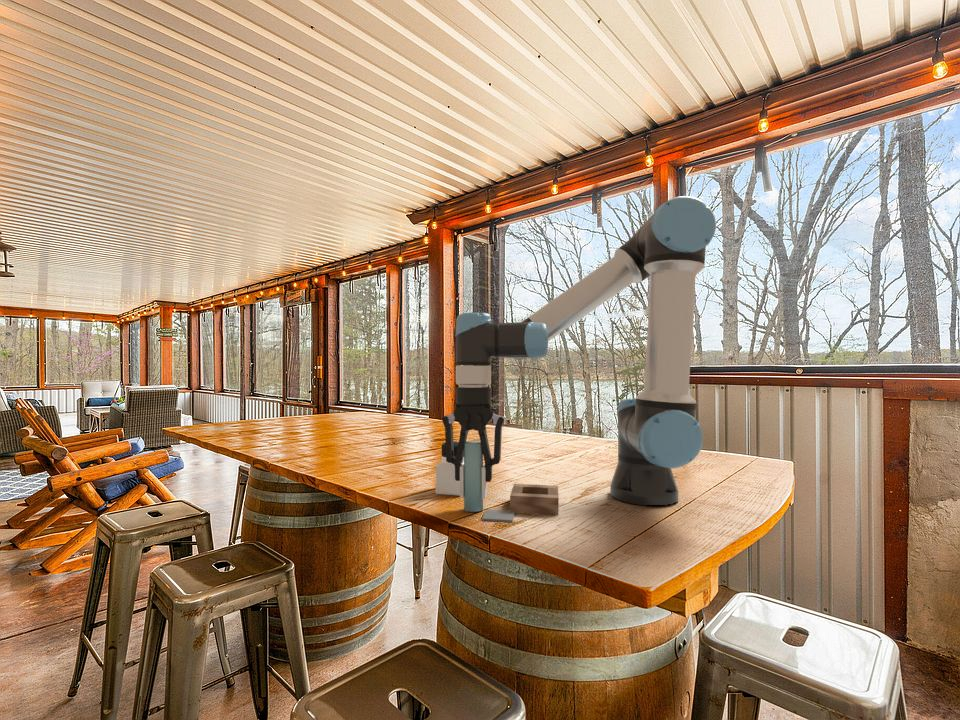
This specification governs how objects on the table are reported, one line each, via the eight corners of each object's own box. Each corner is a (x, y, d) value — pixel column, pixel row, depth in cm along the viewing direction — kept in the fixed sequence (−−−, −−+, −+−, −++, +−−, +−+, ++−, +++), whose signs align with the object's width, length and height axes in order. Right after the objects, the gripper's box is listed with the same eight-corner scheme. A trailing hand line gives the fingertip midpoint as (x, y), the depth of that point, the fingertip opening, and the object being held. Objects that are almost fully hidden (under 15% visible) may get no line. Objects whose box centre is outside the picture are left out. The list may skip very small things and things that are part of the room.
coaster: (514, 512, 98) (514, 510, 98) (512, 522, 92) (512, 520, 92) (486, 511, 99) (486, 509, 99) (482, 520, 93) (482, 518, 93)
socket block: (557, 501, 106) (557, 485, 106) (558, 515, 96) (558, 498, 96) (513, 498, 108) (513, 483, 108) (510, 512, 98) (510, 495, 98)
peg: (484, 506, 101) (484, 441, 101) (481, 512, 97) (481, 444, 97) (465, 505, 101) (465, 440, 101) (462, 511, 97) (462, 443, 97)
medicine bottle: (464, 496, 110) (464, 445, 110) (435, 494, 111) (435, 443, 111) (471, 488, 117) (471, 440, 117) (443, 486, 118) (443, 439, 118)
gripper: (514, 385, 102) (515, 493, 101) (438, 385, 104) (438, 490, 104) (511, 387, 94) (512, 503, 94) (429, 386, 97) (429, 499, 97)
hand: (473, 496), depth 99 cm, fingers closed on peg, 4 cm apart
